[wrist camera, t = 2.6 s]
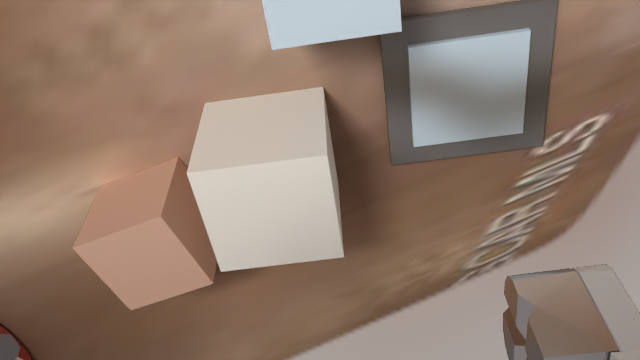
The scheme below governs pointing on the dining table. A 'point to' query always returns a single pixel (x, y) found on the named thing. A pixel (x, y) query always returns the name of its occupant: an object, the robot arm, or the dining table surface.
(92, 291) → the dining table surface
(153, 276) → the terracotta block
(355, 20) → the pale blue block
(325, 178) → the cream block
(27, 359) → the stacking bear
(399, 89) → the tile
